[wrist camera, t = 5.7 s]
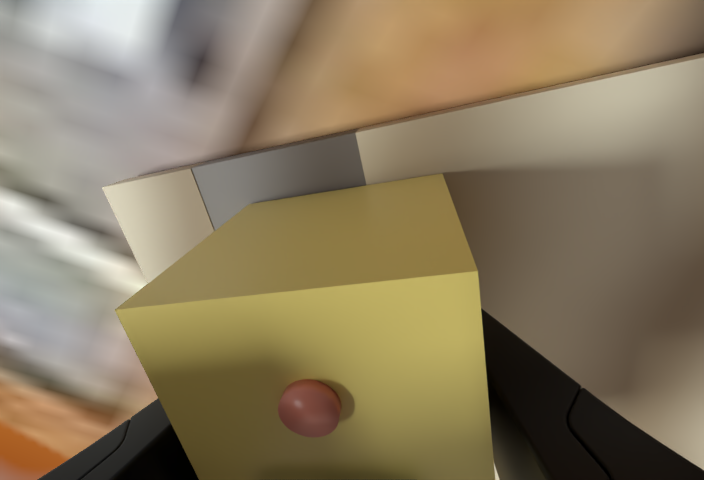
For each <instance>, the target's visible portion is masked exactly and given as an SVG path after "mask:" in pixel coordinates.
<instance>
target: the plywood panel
mask: <svg viewBox="0 0 704 480" xmlns="http://www.w3.org/2000/svg"><path fill="white" fill-rule="evenodd" d="M441 173H442V174H443V176H444V179H445V182H446V185H447V187H448V190H449V193H450V196H451V198H452V201H453V204H454V207H455V209H456V212H457V215H458V218H459V220H460V223H461V226H462V229H463V231H464V234H465V237H466V240H467V242H468V245H469V248H470V250H471V253H472V256H473V259H474V261H475V264H476V267H477V270H478V277H479V289H480V301H481V308H482V309H483V310H485V311H486V312H487V313H489V314H490V315H491V316H492V317H494V318H495V319H496V320H498V321H499V322H500V323H501V324H503V325H504V326H505V327H507V328H508V329H509V330H510V331H512V332H513V333H514V334H516V335H517V336H518V337H519V338H521V339H522V340H523V341H525V342H526V343H527V344H528V345H530V346H531V347H532V348H534V349H535V350H536V351H537V352H539V353H540V354H541V355H543V356H544V357H545V358H546V359H548V360H549V361H550V362H552V363H553V364H554V365H555V366H557V367H558V368H559V369H561V370H562V371H563V372H564V373H566V374H567V375H568V376H570V377H571V378H572V379H573V380H575V381H576V382H577V383H579V384H580V385H581V386H582V388H585V389H587V390H588V391H589V392H590V393H592V394H593V395H594V396H596V397H597V398H598V399H599V400H601V401H602V402H603V403H605V404H606V405H608V406H609V407H610V408H612V409H613V410H614V411H616V412H617V413H618V414H620V415H621V416H623V417H624V418H625V419H627V420H628V421H629V422H631V423H632V424H634V425H635V426H637V427H638V428H640V429H641V430H643V431H644V432H646V433H647V434H649V435H650V436H652V437H653V438H655V439H656V440H658V441H659V442H661V443H662V444H664V445H665V446H667V447H668V448H670V449H672V450H673V451H675V452H676V453H678V454H679V455H681V456H683V457H684V458H686V459H687V460H689V461H690V462H692V463H693V464H695V465H697V466H698V467H700V468H701V469H703V470H704V53H702V54H697V55H693V56H688V57H683V58H679V59H674V60H670V61H665V62H660V63H656V64H651V65H647V66H642V67H638V68H633V69H628V70H624V71H619V72H615V73H610V74H606V75H601V76H596V77H592V78H587V79H583V80H578V81H573V82H569V83H564V84H560V85H555V86H551V87H546V88H541V89H537V90H532V91H528V92H523V93H519V94H514V95H509V96H505V97H500V98H496V99H491V100H486V101H482V102H477V103H473V104H468V105H464V106H459V107H454V108H450V109H445V110H441V111H436V112H431V113H427V114H422V115H418V116H413V117H409V118H404V119H399V120H395V121H390V122H386V123H381V124H377V125H372V126H367V127H363V128H358V129H354V130H349V131H344V132H340V133H335V134H331V135H326V136H322V137H317V138H312V139H308V140H303V141H299V142H294V143H290V144H285V145H280V146H276V147H271V148H267V149H262V150H257V151H253V152H248V153H244V154H239V155H235V156H230V157H225V158H221V159H216V160H212V161H207V162H202V163H198V164H193V165H189V166H184V167H180V168H175V169H170V170H166V171H161V172H157V173H152V174H148V175H143V176H138V177H134V178H129V179H125V180H122V181H119V182H116V183H113V184H110V185H108V186H105V187H102V189H103V191H104V193H105V195H106V197H107V199H108V201H109V203H110V205H111V208H112V210H113V212H114V214H115V216H116V218H117V220H118V222H119V224H120V226H121V229H122V231H123V233H124V235H125V237H126V239H127V241H128V243H129V245H130V247H131V250H132V252H133V254H134V256H135V258H136V260H137V262H138V264H139V266H140V269H141V271H142V273H143V275H144V277H145V279H146V281H147V283H150V282H151V281H152V280H153V279H155V278H156V277H157V276H158V275H160V274H161V273H162V272H163V271H165V270H166V269H167V268H169V267H170V266H171V265H172V264H174V263H175V262H176V261H177V260H179V259H180V258H181V257H183V256H184V255H185V254H186V253H188V252H189V251H190V250H191V249H193V248H194V247H195V246H196V245H198V244H199V243H200V242H202V241H203V240H204V239H205V238H207V237H208V236H209V235H210V234H212V233H213V232H214V231H216V230H217V229H218V228H219V227H221V226H222V225H223V224H224V223H226V222H227V221H228V220H229V219H231V218H232V217H233V216H235V215H236V214H237V213H238V212H240V211H241V210H242V209H243V208H245V207H246V206H247V205H249V204H253V203H259V202H266V201H272V200H278V199H284V198H291V197H297V196H303V195H309V194H316V193H322V192H328V191H335V190H341V189H347V188H353V187H360V186H366V185H372V184H378V183H385V182H391V181H397V180H404V179H410V178H416V177H422V176H429V175H435V174H441ZM494 471H495V480H500V479H499V476H498V473H497V470H496V467H495V464H494Z"/></svg>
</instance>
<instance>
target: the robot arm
mask: <svg viewBox="0 0 704 480" xmlns="http://www.w3.org/2000/svg"><path fill="white" fill-rule="evenodd" d="M481 314H482V326H483V338H484V350H485V362H486V374H487V386H488V398H489V410H490V422H491V435H492V447H493V459H494V464H495V467H496V470H497V473H498V476H499V479H500V480H704V470H703V469H701V468H700V467H698V466H697V465H695V464H693V463H692V462H690V461H689V460H687V459H686V458H684V457H683V456H681V455H679V454H678V453H676V452H675V451H673V450H672V449H670V448H668V447H667V446H665V445H664V444H662V443H661V442H659V441H658V440H656V439H655V438H653V437H652V436H650V435H649V434H647V433H646V432H644V431H643V430H641V429H640V428H638V427H637V426H635V425H634V424H632V423H631V422H629V421H628V420H627V419H625V418H624V417H623V416H621V415H620V414H618V413H617V412H616V411H614V410H613V409H612V408H610V407H609V406H608V405H606V404H605V403H603V402H602V401H601V400H599V399H598V398H597V397H596V396H594V395H593V394H592V393H590V392H589V391H588V390H587V389H585V388H582V386H581V385H580V384H579V383H577V382H576V381H575V380H573V379H572V378H571V377H570V376H568V375H567V374H566V373H564V372H563V371H562V370H561V369H559V368H558V367H557V366H555V365H554V364H553V363H552V362H550V361H549V360H548V359H546V358H545V357H544V356H543V355H541V354H540V353H539V352H537V351H536V350H535V349H534V348H532V347H531V346H530V345H528V344H527V343H526V342H525V341H523V340H522V339H521V338H519V337H518V336H517V335H516V334H514V333H513V332H512V331H510V330H509V329H508V328H507V327H505V326H504V325H503V324H501V323H500V322H499V321H498V320H496V319H495V318H494V317H492V316H491V315H490V314H489V313H487V312H486V311H485V310H483V309H482V308H481ZM38 480H199V479H198V477H197V475H196V473H195V471H194V469H193V467H192V465H191V463H190V461H189V459H188V457H187V455H186V453H185V450H184V448H183V446H182V444H181V442H180V440H179V438H178V436H177V434H176V432H175V430H174V428H173V426H172V424H171V422H170V420H169V418H168V416H167V414H166V412H165V410H164V408H163V406H162V404H161V402H160V400H159V398H158V399H157V400H155V401H154V402H152V403H151V404H150V405H148V406H147V407H145V408H144V409H142V410H141V411H140V412H138V413H137V414H135V415H134V416H132V417H131V420H127V421H125V422H124V423H122V424H121V425H119V426H118V427H117V428H115V429H114V430H112V431H111V432H109V433H108V434H106V435H105V436H103V437H102V438H101V439H99V440H98V441H96V442H95V443H93V444H92V445H90V446H89V447H87V448H86V449H84V450H83V451H81V452H80V453H78V454H77V455H75V456H74V457H72V458H70V459H69V460H67V461H66V462H64V463H63V464H61V465H60V466H58V467H57V468H55V469H53V470H52V471H50V472H49V473H47V474H46V475H44V476H42V477H41V478H39V479H38Z"/></svg>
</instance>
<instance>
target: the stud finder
mask: <svg viewBox="0 0 704 480" xmlns="http://www.w3.org/2000/svg"><path fill="white" fill-rule="evenodd" d="M115 312H116V314H117V316H118V318H119V320H120V322H121V324H122V326H123V328H124V330H125V332H126V334H127V336H128V338H129V340H130V342H131V344H132V346H133V348H134V350H135V352H136V354H137V356H138V358H139V360H140V362H141V364H142V366H143V368H144V370H145V372H146V374H147V376H148V378H149V380H150V382H151V384H152V386H153V388H154V390H155V392H156V394H157V396H158V398H159V400H160V402H161V404H162V406H163V408H164V410H165V412H166V414H167V416H168V418H169V420H170V422H171V424H172V426H173V428H174V430H175V432H176V434H177V436H178V438H179V440H180V442H181V444H182V446H183V448H184V450H185V453H186V455H187V457H188V459H189V461H190V463H191V465H192V467H193V469H194V471H195V473H196V475H197V477H198V479H199V480H495V471H494V459H493V447H492V435H491V422H490V410H489V398H488V386H487V374H486V362H485V350H484V338H483V326H482V314H481V301H480V289H479V277H478V270H477V267H476V264H475V261H474V259H473V256H472V253H471V250H470V248H469V245H468V242H467V240H466V237H465V234H464V231H463V229H462V226H461V223H460V220H459V218H458V215H457V212H456V209H455V207H454V204H453V201H452V198H451V196H450V193H449V190H448V187H447V185H446V182H445V179H444V176H443V174H442V173H441V174H435V175H429V176H422V177H416V178H410V179H404V180H397V181H391V182H385V183H378V184H372V185H366V186H360V187H353V188H347V189H341V190H335V191H328V192H322V193H316V194H309V195H303V196H297V197H291V198H284V199H278V200H272V201H266V202H259V203H253V204H249V205H247V206H246V207H245V208H243V209H242V210H241V211H240V212H238V213H237V214H236V215H235V216H233V217H232V218H231V219H229V220H228V221H227V222H226V223H224V224H223V225H222V226H221V227H219V228H218V229H217V230H216V231H214V232H213V233H212V234H210V235H209V236H208V237H207V238H205V239H204V240H203V241H202V242H200V243H199V244H198V245H196V246H195V247H194V248H193V249H191V250H190V251H189V252H188V253H186V254H185V255H184V256H183V257H181V258H180V259H179V260H177V261H176V262H175V263H174V264H172V265H171V266H170V267H169V268H167V269H166V270H165V271H163V272H162V273H161V274H160V275H158V276H157V277H156V278H155V279H153V280H152V281H151V282H150V283H148V284H147V285H146V286H144V287H143V288H142V289H141V290H139V291H138V292H137V293H136V294H134V295H133V296H132V297H130V298H129V299H128V300H127V301H125V302H124V303H123V304H122V305H120V306H119V307H118V308H116V309H115Z"/></svg>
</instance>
